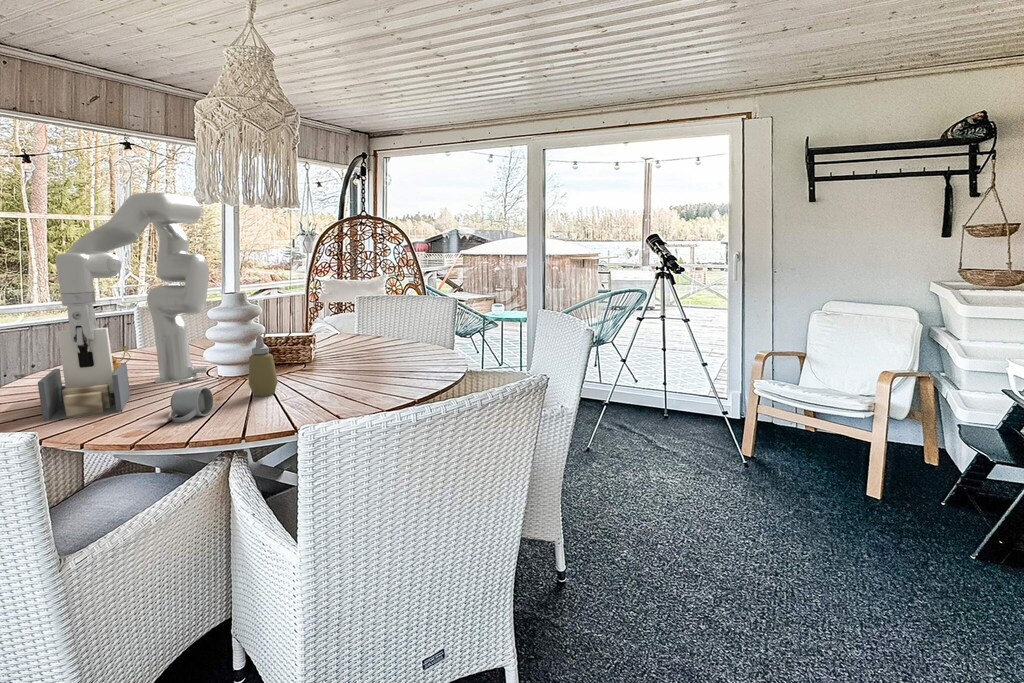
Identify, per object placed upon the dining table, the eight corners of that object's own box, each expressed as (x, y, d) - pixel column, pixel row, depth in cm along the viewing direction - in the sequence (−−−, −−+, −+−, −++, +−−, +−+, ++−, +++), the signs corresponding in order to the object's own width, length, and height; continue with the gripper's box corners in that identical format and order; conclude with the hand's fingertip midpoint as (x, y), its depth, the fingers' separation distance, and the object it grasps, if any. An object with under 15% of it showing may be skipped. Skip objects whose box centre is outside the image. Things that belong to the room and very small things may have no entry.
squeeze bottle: (284, 392, 186) (279, 333, 183) (265, 398, 178) (260, 338, 175) (262, 390, 189) (257, 332, 186) (243, 397, 181) (238, 337, 178)
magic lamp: (89, 374, 215) (85, 343, 214) (139, 374, 215) (135, 343, 213) (75, 379, 209) (70, 347, 207) (126, 378, 208) (122, 346, 206)
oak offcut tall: (111, 405, 169) (108, 384, 168) (109, 407, 166) (107, 386, 165) (67, 410, 164) (64, 388, 163) (65, 412, 162) (62, 390, 161)
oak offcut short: (104, 409, 165) (102, 391, 164) (103, 412, 162) (100, 393, 161) (69, 413, 161) (66, 394, 160) (66, 416, 158) (63, 397, 158)
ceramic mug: (186, 411, 167) (182, 384, 165) (215, 411, 166) (212, 383, 165) (162, 423, 156) (158, 394, 155) (193, 423, 156) (190, 394, 155)
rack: (131, 401, 178) (126, 362, 176) (122, 417, 162) (117, 374, 160) (60, 409, 171) (54, 368, 169) (44, 426, 155) (37, 382, 153)
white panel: (116, 390, 174) (107, 327, 170) (114, 392, 171) (105, 328, 168) (69, 395, 169) (59, 330, 166) (67, 397, 166) (57, 332, 163)
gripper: (89, 301, 159) (99, 369, 163) (100, 295, 174) (108, 358, 177) (54, 303, 156) (65, 373, 160) (68, 297, 171) (77, 361, 174)
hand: (88, 364), depth 168 cm, fingers closed on white panel, 3 cm apart
